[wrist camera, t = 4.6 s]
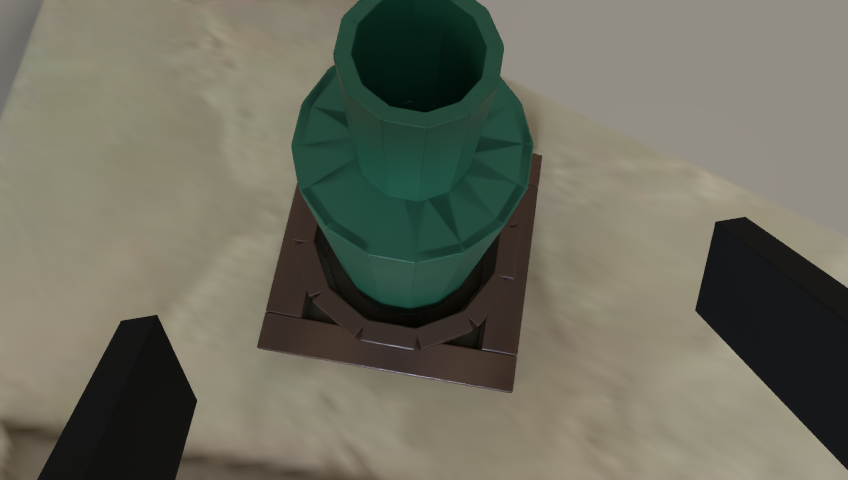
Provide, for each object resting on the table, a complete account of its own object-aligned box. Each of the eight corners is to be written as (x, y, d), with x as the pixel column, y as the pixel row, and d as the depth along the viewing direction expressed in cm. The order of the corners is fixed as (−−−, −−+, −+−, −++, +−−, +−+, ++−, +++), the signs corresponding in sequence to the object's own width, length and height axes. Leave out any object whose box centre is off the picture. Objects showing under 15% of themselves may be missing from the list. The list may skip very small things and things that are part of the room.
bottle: (333, 302, 27) (206, 176, 9) (358, 184, 29) (292, -115, 11) (458, 324, 27) (569, 241, 10) (477, 205, 29) (600, -59, 11)
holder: (263, 349, 27) (240, 345, 23) (318, 126, 30) (305, 90, 26) (506, 392, 27) (524, 396, 23) (535, 165, 30) (555, 135, 26)
